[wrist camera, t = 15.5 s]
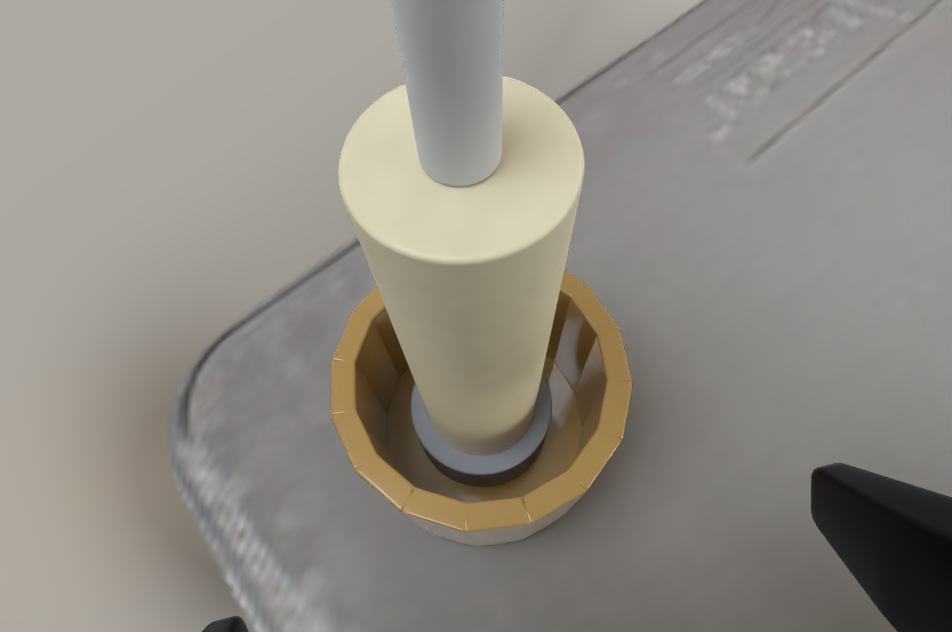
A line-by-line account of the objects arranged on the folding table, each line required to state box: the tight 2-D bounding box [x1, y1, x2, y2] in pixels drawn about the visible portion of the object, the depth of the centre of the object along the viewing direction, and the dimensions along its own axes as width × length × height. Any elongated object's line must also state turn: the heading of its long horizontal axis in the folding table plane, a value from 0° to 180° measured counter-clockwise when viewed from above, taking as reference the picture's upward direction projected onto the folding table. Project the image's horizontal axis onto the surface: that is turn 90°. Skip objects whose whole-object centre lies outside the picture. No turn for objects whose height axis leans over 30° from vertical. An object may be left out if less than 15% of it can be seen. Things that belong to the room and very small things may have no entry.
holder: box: [331, 270, 633, 546], centre depth 16 cm, size 7×7×5 cm
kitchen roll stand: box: [338, 0, 585, 487], centre depth 11 cm, size 4×4×14 cm
